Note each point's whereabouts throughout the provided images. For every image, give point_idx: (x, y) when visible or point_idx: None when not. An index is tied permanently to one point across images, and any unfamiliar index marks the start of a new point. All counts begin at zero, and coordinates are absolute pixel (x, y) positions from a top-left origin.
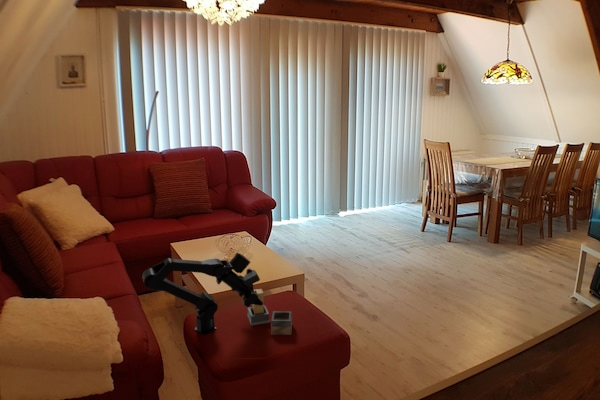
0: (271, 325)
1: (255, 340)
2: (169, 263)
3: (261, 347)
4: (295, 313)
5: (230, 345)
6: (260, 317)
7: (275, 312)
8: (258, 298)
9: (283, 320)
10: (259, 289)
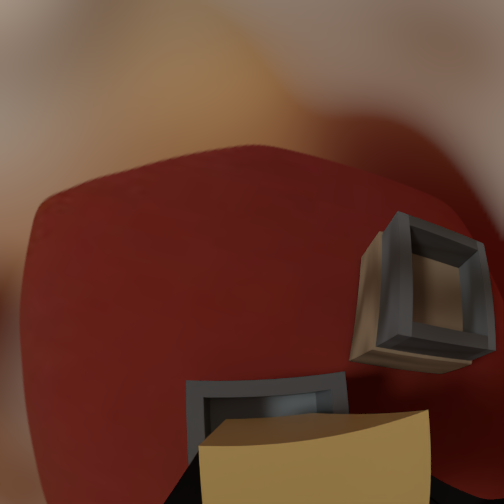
0: (463, 361)
1: (463, 445)
2: None
3: (500, 410)
4: (244, 216)
5: None
6: None
7: (412, 315)
8: (431, 480)
9: (488, 278)
10: (225, 493)
